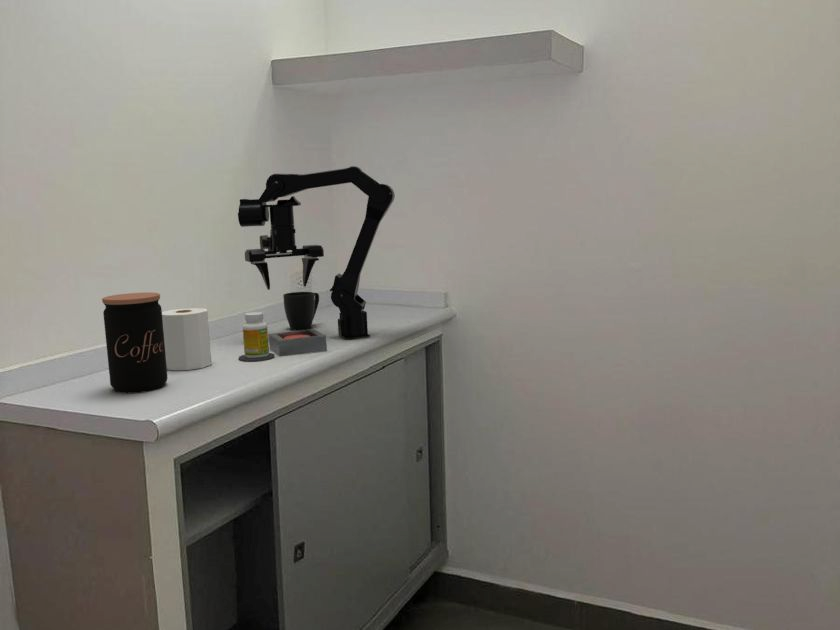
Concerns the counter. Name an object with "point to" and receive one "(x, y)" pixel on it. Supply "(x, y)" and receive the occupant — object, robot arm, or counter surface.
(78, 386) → the counter surface
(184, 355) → the toilet paper
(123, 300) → the coffee jar
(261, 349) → the supplement bottle
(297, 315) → the mug
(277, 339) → the grey square tray
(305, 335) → the button
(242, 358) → the coaster
